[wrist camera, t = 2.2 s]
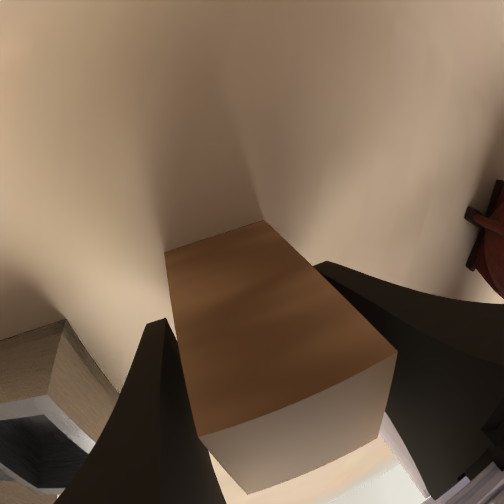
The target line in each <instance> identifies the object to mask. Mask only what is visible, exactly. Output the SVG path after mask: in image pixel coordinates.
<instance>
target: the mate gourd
mask: <svg viewBox="0 0 504 504" xmlns="http://www.w3.org/2000/svg"><path fill="white" fill-rule="evenodd" d="M464 218H465V219H466V220H467V221H469V222H471V223H472V224H474V225H476V226H477V227H478V228H479V233H478V236H477V239H476V241H475V244H474V246H473V249H472V251H471V254H470V256H469V258H468V261H467V263H466V267H467V268H468V269H469V270H470V271H474V270H475V269H477V270H478V272H479V273H480V274H481V275H482V276H483V278H484V279H485V280H486V282H487V283H488V284H489V285H490V286H491V287H492V289H493V290H494V291H495V292H496V293H498V294H499V295H500V296H501V297H502V298H503V299H504V181H503V180H497V181H496V184H495V187H494V190H493V193H492V197H491V200H490V203H489V206H488V209H487V211H486V214H485V215H483V214H482V213H480V212H479V211H477V210H476V209H473V208H471V207H468V208H467V210H466V213H465V217H464Z"/></svg>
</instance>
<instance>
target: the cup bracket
mask: <svg viewBox="0 0 504 504" xmlns="http://www.w3.org/2000/svg"><path fill="white" fill-rule="evenodd" d="M118 397H119V394H118V392H117V391H116V390H115V389H114V387H113V386H112V385H111V383H110V382H109V381H108V380H107V378H106V377H105V376H104V374H103V373H102V372H101V370H100V369H99V368H98V366H97V365H96V363H95V362H94V361H93V359H92V358H91V356H90V355H89V353H88V352H87V351H86V349H85V348H84V346H83V345H82V343H81V342H80V340H79V339H78V337H77V336H76V334H75V333H74V331H73V329H72V328H71V326H70V325H69V323H68V321H67V320H63V321H60V322H57V323H54V324H51V325H47V326H44V327H41V328H38V329H35V330H32V331H29V332H26V333H23V334H20V335H17V336H14V337H11V338H8V339H5V340H2V341H0V504H53V503H54V502H55V501H56V500H57V494H62V492H63V491H64V490H65V488H66V487H67V486H68V484H69V483H70V482H71V480H72V479H73V478H74V476H75V475H76V473H77V472H78V470H79V469H80V468H81V466H82V464H83V463H84V461H85V459H86V458H87V456H88V455H89V453H90V451H91V450H92V448H93V447H94V445H95V443H96V442H97V440H98V438H99V437H100V435H101V433H102V431H103V429H104V427H105V425H106V423H107V421H108V419H109V417H110V415H111V413H112V411H113V409H114V407H115V404H116V402H117V400H118Z"/></svg>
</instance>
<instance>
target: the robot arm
mask: <svg viewBox="0 0 504 504" xmlns="http://www.w3.org/2000/svg"><path fill="white" fill-rule="evenodd" d="M313 267H314V268H315V269H316V270H317V271H318V272H319V273H320V274H321V275H322V276H323V277H324V278H325V279H326V280H327V281H328V282H329V283H330V284H331V285H332V286H333V287H334V288H335V289H336V290H337V291H338V292H339V293H340V294H341V295H342V296H343V297H344V298H345V299H346V300H347V301H348V302H349V303H350V304H351V305H352V306H353V307H354V308H355V309H356V310H357V311H358V312H359V313H360V314H361V315H362V316H363V317H364V318H365V319H366V320H367V321H368V322H369V323H370V324H371V325H372V326H373V327H374V328H375V329H376V330H377V331H378V332H379V333H380V334H381V335H382V336H383V337H384V338H385V339H386V340H387V341H388V342H389V343H390V344H391V345H392V346H393V347H394V348H395V349H396V350H397V351H398V354H397V359H396V364H395V369H394V374H393V379H392V383H391V388H390V392H389V396H388V400H387V404H386V408H385V412H384V416H383V419H382V423H381V427H380V430H379V435H380V436H381V438H382V439H383V440H384V442H385V443H386V445H387V446H388V447H389V449H390V450H391V451H392V453H393V454H394V456H395V457H396V458H397V460H398V461H399V462H400V464H401V465H402V466H403V468H404V469H405V471H406V472H407V473H408V475H409V476H410V478H411V479H412V480H413V482H414V483H415V484H416V486H417V487H418V489H419V490H420V491H421V493H422V494H423V495H424V497H425V498H427V497H429V496H430V495H431V497H430V498H429V499H427V500H426V501H425V502H423V503H422V504H504V304H490V303H479V302H471V301H463V300H456V299H450V298H446V297H441V296H436V295H431V294H427V293H423V292H419V291H416V290H412V289H409V288H405V287H402V286H399V285H395V284H392V283H389V282H386V281H383V280H380V279H378V278H375V277H372V276H369V275H366V274H364V273H361V272H358V271H355V270H353V269H350V268H347V267H344V266H342V265H339V264H336V263H333V262H329V261H325V262H322V263H320V264H317V265H314V266H313ZM53 504H226V501H225V499H224V496H223V494H222V491H221V489H220V486H219V483H218V480H217V478H216V475H215V472H214V469H213V466H212V463H211V459H210V456H209V452H208V449H207V448H206V446H205V445H204V444H203V443H202V441H201V440H200V439H199V438H198V435H197V431H196V427H195V423H194V418H193V414H192V410H191V405H190V401H189V396H188V392H187V387H186V382H185V378H184V373H183V368H182V363H181V357H180V352H179V347H178V342H177V340H176V338H175V336H174V334H173V332H172V330H171V328H170V326H169V324H168V321H167V319H166V318H164V319H161V320H158V321H155V322H151V323H148V324H147V325H146V327H145V329H144V332H143V334H142V337H141V340H140V343H139V346H138V349H137V351H136V354H135V357H134V360H133V362H132V365H131V368H130V370H129V373H128V376H127V378H126V381H125V383H124V386H123V388H122V390H121V393H120V395H119V397H118V400H117V402H116V404H115V407H114V409H113V411H112V413H111V415H110V417H109V419H108V421H107V423H106V425H105V427H104V429H103V431H102V433H101V435H100V437H99V438H98V440H97V442H96V443H95V445H94V447H93V448H92V450H91V451H90V453H89V455H88V456H87V458H86V459H85V461H84V463H83V464H82V466H81V468H80V469H79V470H78V472H77V473H76V475H75V476H74V478H73V479H72V480H71V482H70V483H69V484H68V486H67V487H66V488H65V490H64V491H63V492H62V494H61V495H60V496H59V497H58V499H57V500H56V501H55V502H54V503H53Z"/></svg>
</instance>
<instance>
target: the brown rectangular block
mask: <svg viewBox="0 0 504 504" xmlns="http://www.w3.org/2000/svg"><path fill="white" fill-rule="evenodd" d="M165 261H166V269H167V277H168V284H169V291H170V298H171V305H172V311H173V318H174V324H175V330H176V335H177V341H178V347H179V352H180V357H181V363H182V368H183V373H184V378H185V382H186V387H187V392H188V396H189V401H190V405H191V410H192V414H193V418H194V423H195V427H196V431H197V435H198V438H199V439H200V440H201V441H202V443H203V444H204V445H205V446H206V448H207V449H208V450H209V451H210V453H211V454H212V455H213V456H214V457H215V459H216V460H217V461H218V462H219V463H220V465H221V466H222V467H223V468H224V469H225V470H226V472H227V473H228V474H229V475H230V476H231V477H232V478H233V479H234V481H235V482H236V483H237V484H238V485H239V486H240V487H241V488H242V489H243V490H244V491H245V492H246V494H247V495H248V494H251V493H254V492H257V491H260V490H263V489H266V488H269V487H272V486H275V485H277V484H280V483H283V482H285V481H288V480H291V479H293V478H296V477H298V476H301V475H303V474H305V473H308V472H310V471H312V470H315V469H317V468H319V467H321V466H324V465H326V464H328V463H330V462H332V461H334V460H336V459H338V458H340V457H342V456H344V455H346V454H348V453H350V452H352V451H354V450H356V449H358V448H360V447H362V446H364V445H365V444H367V443H369V442H371V441H372V440H374V439H376V438H377V437H378V434H379V430H380V427H381V423H382V419H383V416H384V412H385V408H386V404H387V400H388V396H389V392H390V388H391V383H392V379H393V374H394V369H395V364H396V359H397V354H398V351H397V350H396V349H395V348H394V347H393V346H392V345H391V344H390V343H389V342H388V341H387V340H386V339H385V338H384V337H383V336H382V335H381V334H380V333H379V332H378V331H377V330H376V329H375V328H374V327H373V326H372V325H371V324H370V323H369V322H368V321H367V320H366V319H365V318H364V317H363V316H362V315H361V314H360V313H359V312H358V311H357V310H356V309H355V308H354V307H353V306H352V305H351V304H350V303H349V302H348V301H347V300H346V299H345V298H344V297H343V296H342V295H341V294H340V293H339V292H338V291H337V290H336V289H335V288H334V287H333V286H332V285H331V284H330V283H329V282H328V281H327V280H326V279H325V278H324V277H323V276H322V275H321V274H320V273H319V272H318V271H317V270H316V269H315V268H314V267H313V266H312V265H311V264H310V263H309V262H308V261H307V260H306V259H304V258H303V257H302V256H301V255H300V254H299V253H298V252H297V251H296V250H295V249H294V248H293V247H292V246H291V245H290V244H289V243H288V242H287V241H286V240H285V239H284V238H283V237H281V236H280V235H279V234H278V233H277V232H276V231H275V230H274V229H273V228H272V227H271V226H270V225H269V224H268V223H267V222H266V221H264V220H263V221H260V222H257V223H254V224H251V225H248V226H244V227H241V228H238V229H235V230H232V231H229V232H226V233H223V234H220V235H217V236H214V237H211V238H207V239H204V240H201V241H198V242H195V243H192V244H189V245H186V246H183V247H180V248H177V249H174V250H171V251H168V252H166V253H165Z"/></svg>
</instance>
